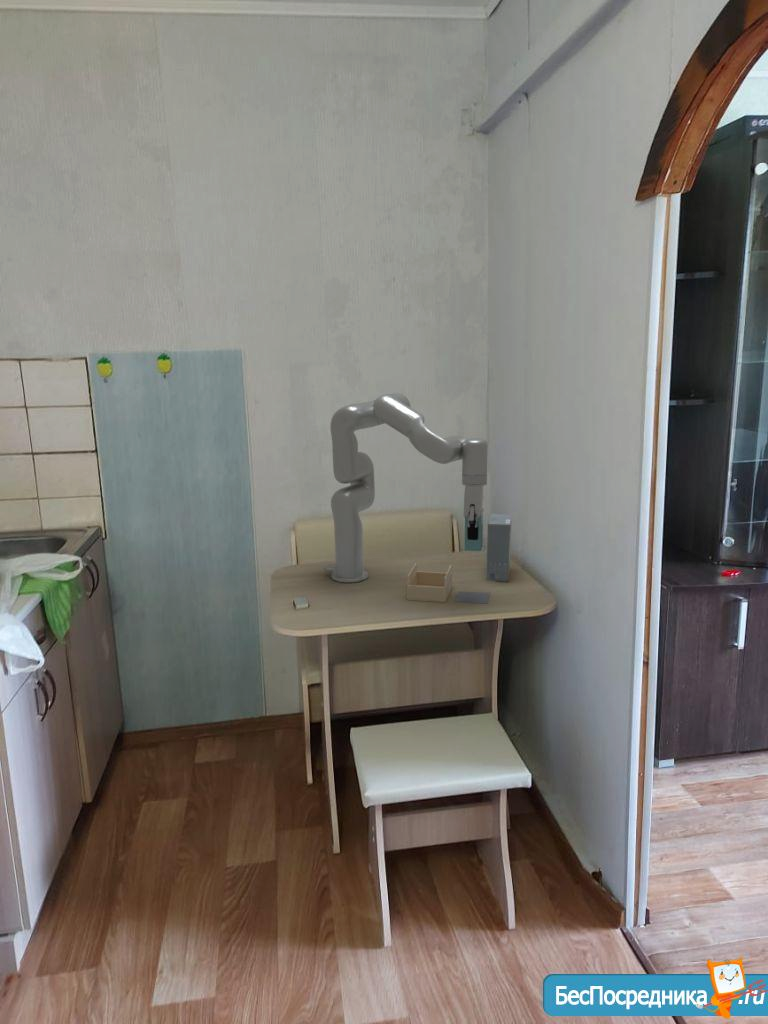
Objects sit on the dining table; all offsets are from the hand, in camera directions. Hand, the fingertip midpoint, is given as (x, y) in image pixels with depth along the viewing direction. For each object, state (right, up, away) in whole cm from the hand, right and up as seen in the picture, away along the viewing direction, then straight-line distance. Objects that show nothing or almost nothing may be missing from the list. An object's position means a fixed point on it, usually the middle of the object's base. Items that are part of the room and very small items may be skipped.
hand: (473, 536), depth 233 cm
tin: (0, -4, +1) cm, 4 cm away
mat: (0, -20, +5) cm, 20 cm away
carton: (-13, -19, +10) cm, 25 cm away
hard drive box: (+12, -14, +28) cm, 34 cm away
